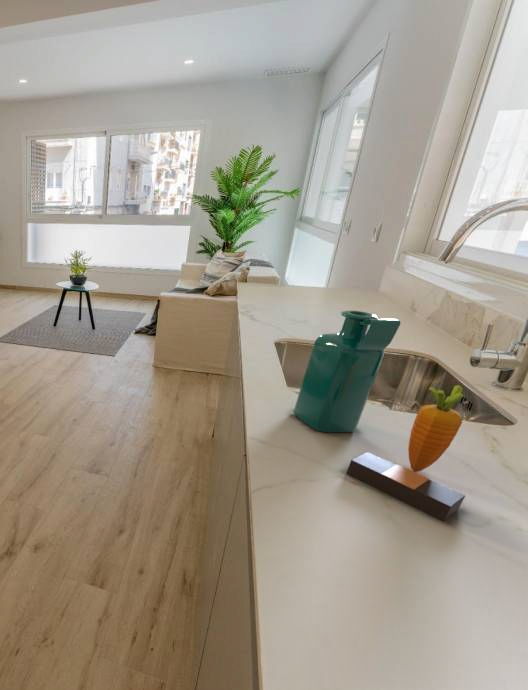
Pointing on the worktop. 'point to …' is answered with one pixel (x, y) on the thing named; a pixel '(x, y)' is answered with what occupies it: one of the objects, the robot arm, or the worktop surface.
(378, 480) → the snack bar
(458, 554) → the worktop surface
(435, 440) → the carrot
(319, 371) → the pitcher
